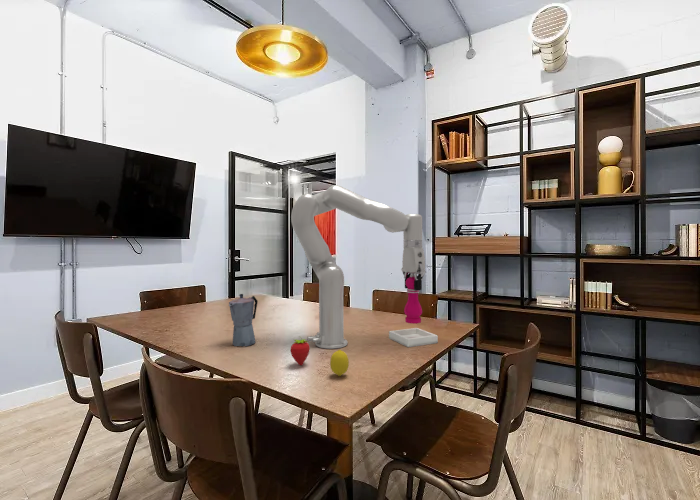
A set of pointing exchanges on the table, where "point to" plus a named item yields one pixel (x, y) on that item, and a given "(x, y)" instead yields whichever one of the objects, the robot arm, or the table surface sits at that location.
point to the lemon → (339, 362)
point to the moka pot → (243, 320)
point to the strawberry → (300, 351)
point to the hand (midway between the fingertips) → (413, 288)
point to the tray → (413, 337)
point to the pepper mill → (412, 303)
